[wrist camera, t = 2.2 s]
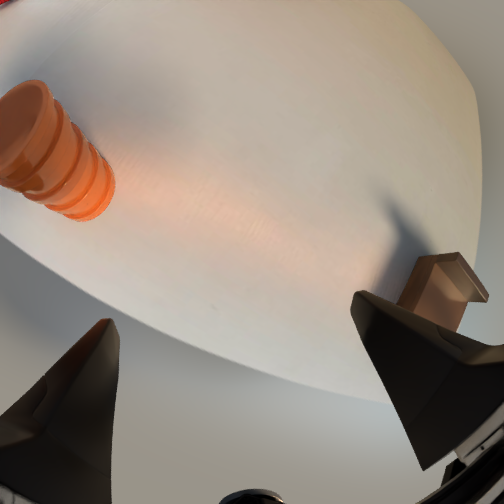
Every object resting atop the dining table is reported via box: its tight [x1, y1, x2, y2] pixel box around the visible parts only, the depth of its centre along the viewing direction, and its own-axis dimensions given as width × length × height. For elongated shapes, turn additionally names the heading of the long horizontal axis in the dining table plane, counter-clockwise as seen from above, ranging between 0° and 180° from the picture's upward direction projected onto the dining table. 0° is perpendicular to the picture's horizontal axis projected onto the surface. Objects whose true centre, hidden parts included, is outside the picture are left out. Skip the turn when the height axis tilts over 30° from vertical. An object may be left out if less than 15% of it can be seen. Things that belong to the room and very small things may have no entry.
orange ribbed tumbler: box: [0, 80, 115, 222], centre depth 15 cm, size 6×6×13 cm
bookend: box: [396, 252, 489, 332], centre depth 23 cm, size 10×8×6 cm
